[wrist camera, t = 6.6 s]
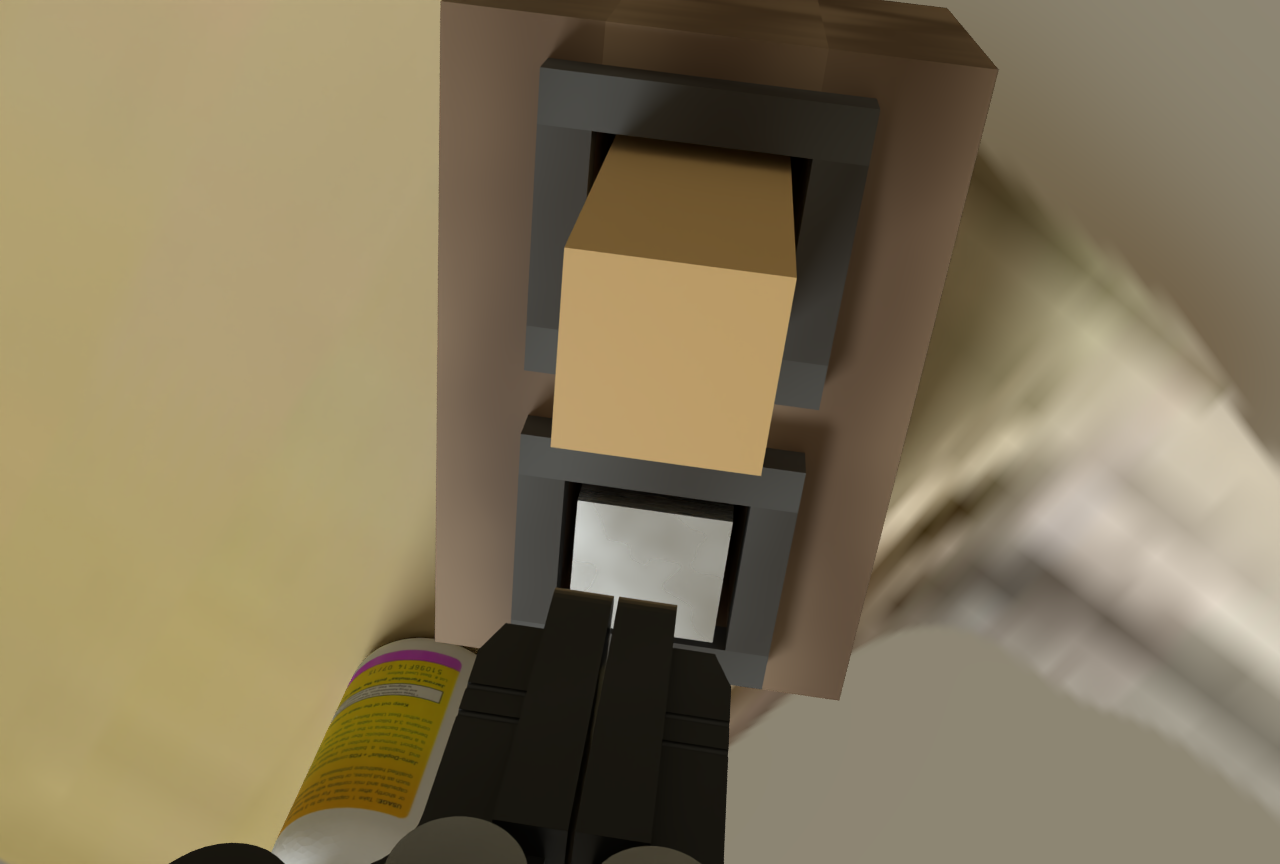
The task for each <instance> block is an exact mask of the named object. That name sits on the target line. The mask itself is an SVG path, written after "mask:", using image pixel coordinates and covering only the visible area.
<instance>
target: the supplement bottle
mask: <svg viewBox="0 0 1280 864" xmlns="http://www.w3.org/2000/svg"><path fill="white" fill-rule="evenodd" d="M476 656H477V655H476V654H474V653H473V652H471V651H469V650H467V649H465V648H463V647H461V646H459V645H455V644H448V643H441V642H435V639H430V638H410V639H403V640H399V641H395V642H392V643H389V644H386V645H384V646H382V647H380V648H378V649H377V650H375V651H374V652H372V653H371V654H370V655H369V656H368V657H366V658H365V659H364V660H363V662H362V663H361V664H360V665H359V667H358V668H357V670H356V671H355V673H354V675H353V677H352V679H351V681H350V683H349V685H348V687H347V689H346V691H345V694H344V696H343V698H342V700H341V702H340V704H339V707H338V709H337V711H336V713H335V715H334V717H333V720H332V722H331V724H330V726H329V728H328V730H327V732H326V734H325V737H324V739H323V741H322V743H321V745H320V747H319V750H318V752H317V754H316V756H315V758H314V761H313V763H312V765H311V767H310V769H309V771H308V774H307V776H306V778H305V780H304V782H303V784H302V786H301V789H300V791H299V793H298V795H297V797H296V799H295V802H294V804H293V806H292V808H291V810H290V812H289V815H288V817H287V819H286V821H285V823H284V825H283V827H282V829H281V831H280V834H279V836H278V838H277V840H276V843H275V845H274V847H273V850H272V852H271V853H273V854H274V855H276V856H277V857H278V858H279V859H281V860H282V861H283V862H284V863H285V864H371V863H373V862H375V861H378V860H380V859H382V858H383V857H385V856H387V855H388V854H390V853H391V851H392V849H393V848H394V847H395V846H396V844H397V843H398V842H399V841H400V840H401V839H402V838H403V837H404V836H405V835H407V834H408V833H409V832H410V831H412V830H414V829H415V828H416V827H417V825H418V824H419V821H420V819H421V817H422V815H423V812H424V809H425V806H426V803H427V800H428V797H429V794H430V791H431V789H432V786H433V783H434V780H435V777H436V774H437V771H438V768H439V765H440V762H441V759H442V756H443V753H444V750H445V747H446V744H447V741H448V738H449V736H450V733H451V730H452V727H453V724H454V721H455V718H456V716H457V715H458V710H459V706H460V703H461V700H462V697H463V694H464V691H465V688H467V684H468V680H469V677H470V674H471V671H472V668H473V665H474V662H475V659H476Z"/></svg>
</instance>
